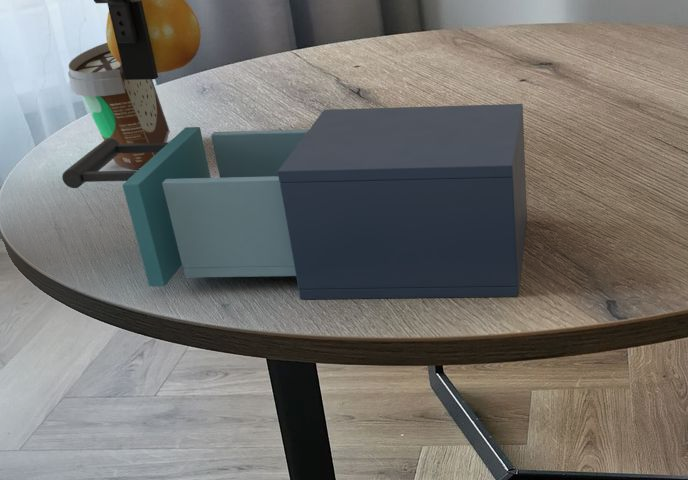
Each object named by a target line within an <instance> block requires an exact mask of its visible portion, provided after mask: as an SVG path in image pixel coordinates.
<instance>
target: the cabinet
mask: <svg viewBox="0 0 688 480" xmlns="http://www.w3.org/2000/svg"><path fill="white" fill-rule="evenodd" d="M308 129H309V130H308V132H307V133H306V134H305V136H304V137H303V138H302V140H301V141H300V142H299V144H298V145H297V146H296V148H295V149H294V150H293V152H292V153H291V154H290V156H289V157H288V158H287V160H286V161H285V162H284V164H283V165H282V166H281V168H280V169H279V170H278V177H279V182H280V188H281V193H282V199H283V205H284V210H285V216H286V221H287V227H288V233H289V238H290V244H291V249H292V255H293V261H294V266H295V272H296V276H295V278H296V282H297V289H298V295H299V299H300V300H348V299H349V300H355V299H356V300H357V299H361V300H362V299H364V300H365V299H427V298H428V299H429V298H431V299H433V298H435V299H437V298H441V299H443V298H507V297H509V298H513V297H515V298H516V297H517V298H518V297H519V296H520V295H519V294H520V286H521V285H520V284H521V278H522V277H521V276H522V269H523V268H522V267H523V258H524V252H525V251H524V250H525V243H526V242H525V241H526V231H527V224H528V204H527V180H526V179H527V178H526V157H525V156H526V153H525V152H526V151H525V129H524V104H523V103H505V104H504V103H502V104H499V103H498V104H471V105H467V104H466V105H439V106H437V105H435V106H404V107H403V106H402V107H400V106H399V107H372V108H371V107H370V108H367V107H366V108H333V109H323V110H322V112H321V113H320V114H319V116H317V118H316V120H314V122H313V124H312V125H311V126H310V127H309V128H308Z"/></svg>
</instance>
